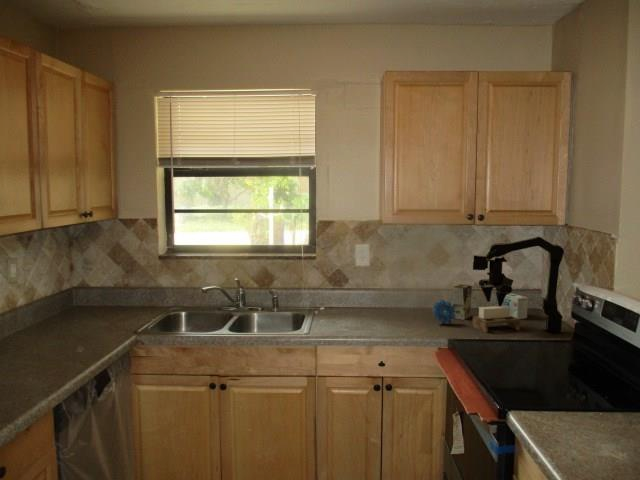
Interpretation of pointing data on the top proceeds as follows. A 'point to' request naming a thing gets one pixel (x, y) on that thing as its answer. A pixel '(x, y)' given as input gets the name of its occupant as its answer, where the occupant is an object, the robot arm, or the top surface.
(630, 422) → the top surface
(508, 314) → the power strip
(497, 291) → the robot arm
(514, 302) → the light bulb box
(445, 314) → the grapes
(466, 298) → the coffee box
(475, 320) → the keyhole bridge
